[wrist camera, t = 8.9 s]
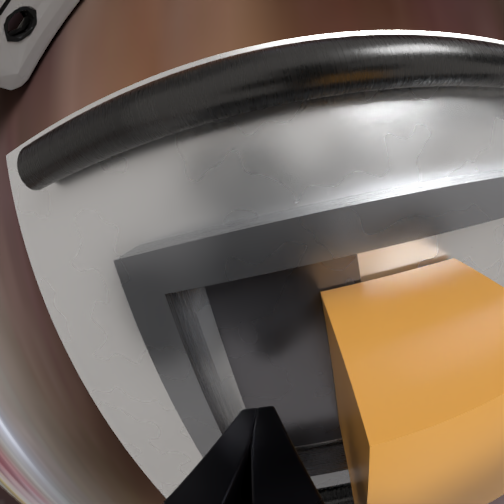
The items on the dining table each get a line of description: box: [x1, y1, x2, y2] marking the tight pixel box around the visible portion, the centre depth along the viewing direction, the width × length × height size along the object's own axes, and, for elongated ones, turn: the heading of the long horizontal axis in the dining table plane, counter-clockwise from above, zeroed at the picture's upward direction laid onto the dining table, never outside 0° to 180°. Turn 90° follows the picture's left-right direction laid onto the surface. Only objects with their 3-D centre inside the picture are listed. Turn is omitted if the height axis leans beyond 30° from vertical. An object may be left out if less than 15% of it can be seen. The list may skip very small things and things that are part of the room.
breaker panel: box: [6, 30, 504, 504], centre depth 8 cm, size 24×18×4 cm
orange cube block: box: [320, 258, 504, 504], centre depth 6 cm, size 4×5×5 cm
